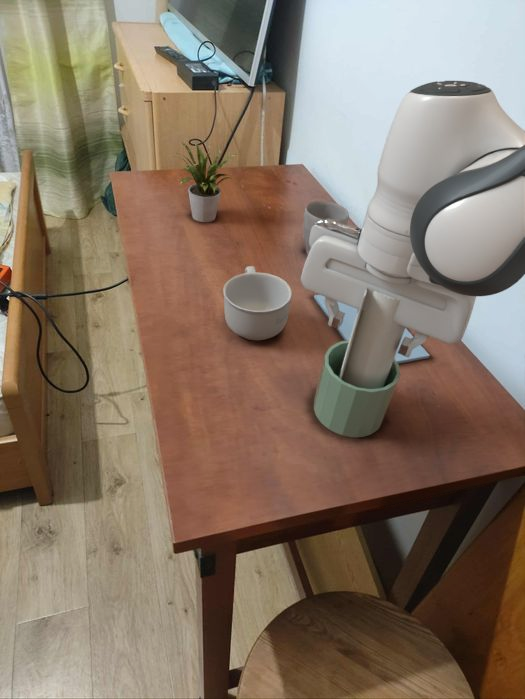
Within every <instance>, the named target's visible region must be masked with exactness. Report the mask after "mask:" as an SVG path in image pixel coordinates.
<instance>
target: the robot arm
mask: <svg viewBox="0 0 525 699" xmlns="http://www.w3.org/2000/svg"><path fill="white" fill-rule="evenodd" d="M376 173H377V185H376V188H375V192H374V194H373V196H372V197H371V199H370V201H369V203H368V205H367V207H366V208H367V209H366V213H365V215H364V219H363V223H362V226H361V228H360V227H356V226H354V225H351V224H348V223H347V224H342V223H339V222H337V221H336V220H333V219H325V220H321V221H317V222H316V223H314V224H313V226H312V228H311V232H310V237H309V245H310V247H311V249H310V251H309V254H307V256H306V259H305V261H304V265H303V268H302V271H301V275H300V282H301V284H302V286H303V288H304V289H305V290H306V291H308V292H309V291H310V292H312V293H314V294H316V295H322V296H325V301H324V303H325V306H326V308H327V311H328V314H329V315H330V318H328V321H327V326H328V327H331V328H333V329H335V330H337V329H339V328H340V326H341V325H342V323H343V318H344V316H345V313H344V312H341V311H340V310H339V306H338V303H337V302H341V303H343V304H346V305H348V306H351V307H354V308H356V309H360V306H361V302H362V299H363V297H364V293H365V290H366V288H367V293H366V297H365V300H364V303H363V307H362V311H364V312H367V311H368V310H369V307H370V303H371V299H372V296H373V292H374V291H376V292H379V293H382V294H385V295H387V296H390V297H393V298H396V299H399V300H400V301H399V304H398V307H397V310H396V312H395V315H394V318H393V322H394V323H396V324H398V325H401V326H403V327H406V329H408V330H411V331H414V332H416V333H415V335H413V338H408V337H404V339H403V341H402V343H401V346H400V349H399V351H398V353H399V354H401V355H403V356H406V357H408V358H409V356H410V354H411V352H412V350H413V349H414V348H416V347H417V346H419V345H421V346H422V344H424V343H426V341H427V340H428V338H432V339H434V340H437V341H440V342H442V343H444V344H447V345H454V344H457V343H459V342H461V341H462V340H463V337H464V335H465V333H466V330H467V327H468V325H469V322H470V319H471V316H472V313H473V310H474V307H475V303H476V300H477V297H487V296H492V295H496V294H500V293H502V292H504V291H506V290H508V289H510V288H511V287H513V286H514V285H516V284H517V283H518V282H519V281H520V280H521V279H522V278H523V277H524V276H525V130H524V129H523V128H522V127H521V126H520V125H519V124H517V123H516V122H515V120H513V118H511V117H510V115H508V113H507V112H506V111H505V110H504V109H503V107H502V105H501V104H500V103H499V101H498V99H497V97H496V94H495V92H494V91H493V90H492V88H490V87H488V86H486V85H485V84H481V83H479V82H475V81H474V82H473V81H468V80H467V81H466V80H443V81H441V80H440V81H431V82H427V83H424V84H420V85H418V86H416V87H415V88H413V89H411V90H410V91H408V92H407V93H406V94H405V95H404V96H403V98H402V99H401V101H400V103H399V105H398V108H397V109H396V112H395V114H394V117H393V119H392V122H391V124H390V127H389V130H388V133H387V136H386V139H385V143H384V145H383V149H382V151H381V155H380V159H379V163H378V167H377V172H376ZM322 224H324V225H322Z"/></svg>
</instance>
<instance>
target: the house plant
mask: <svg viewBox="0 0 525 699" xmlns="http://www.w3.org/2000/svg"><path fill="white" fill-rule="evenodd" d="M176 141H178V142H179V143H181V145H183V146H184V148H185V149H186V151H187V153H188V155H189V157H190V159H191V160H190V159H189V158H188V157H186V156H185V155H184V154H181V153H178V152H171V155H172V154H175V155H173V156H172V157H173V158H174V157H175V158H180V159H181V157H180V155H181V156H182V157H183V158H185V159H186V160H185V159H183V158H182V160H183V161H184V162H185V164H186V165H187V166H185V167H183V170H185V171H186V172H187V173H189V174H190V175H191V176H192V177H190V176H185V177H184V176H183V175H182V174H180V173H177V175H178V176H181V177H182V179H181V180H180V183H179V185H182V184H183V183H186V182H189V183H190V184H191V185H190V186H189V187H188V189H187V190H188V197H189V204H190V211H191V217H192V219H193V220H194V221H197V222H200V223H210V222H213V221H215V219H216V216H217V213H218V207H219V203H220V198H221V194H222V190H221V189H220V187H218V185H219V184H220V183H222V182H223V181H225V180H228V179H231V180H233V178H232V177H231V176H230V175H229V174H226V173H218V171H219V170H220V169H221V168H222V167H223V166H224V165H225V164H226V163H227V162H228V161H230V160H231V159H232V158H234V157H235V156H238V155H239V154H238V153H235V154H232V155H229V156H228V157H227V158H226V159H224V160H223V161H222V162H221V163H218V161H219V160H220V159H219V158H220V155H221V152H222V148H220V149H219V150H218V152H217V154H216V156H215V158H214V161H213V163H211V164H209V165H208V169H207V164H208V158H209V156H210V155H211V154H212V152H210V153H209V154H208V152H209V149H210V147H211V145H212V144H210V145H209V147H208V150H207V152H206V154H207V155H206V156H205V155H204V153H203V151H202V149H201V148H200V146H199V144H198V143H197V142H196V141H195V142H194V146H195V147H196V154H197V156H196V157H197V161H198V163H197V162H196V160H195V158H194V155H193V153H192V151H191V149H190V148H189V146H188V145H187V144H185V143H184V142H183V141H182V140H178V139H176ZM177 155H179V156H177ZM187 161H188V162H189V163H190V165H189V163H188V162H187ZM221 177H223V178H222V179H220V178H221ZM218 179H220V180H219V181H218V182H217V180H218ZM190 180H194V182H195V184H193V183H191V181H190ZM216 182H217V183H216Z"/></svg>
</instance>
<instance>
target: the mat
mask: <svg viewBox="0 0 525 699" xmlns="http://www.w3.org/2000/svg"><path fill="white" fill-rule="evenodd" d="M313 299H314V300H315V301H316V303H317V304H318V306H319V307H320V309H321V310H322V311H323V313H324V315H326V316H327V318H328V319H329V318H330V315H329V314H328V311H327V308H326V306H325V303H324V301H325V296H322V295H320V294H314V296H313ZM337 303H338V306H339V310H340V311H341V312H344V313H345V316H344V318H343V323H342V325H341V326H340V328H339V329H336V330H337V331H338V333H339V335H340V336H341V338H343V341H348V340H349V339H350V336H351V332H352V329H353V325H354V322H355V318H356V315H357V311H358V309H356V308H354V307H351V306H348V305H346V304H343V303H341V302H337ZM404 337H408V338H413V337H414V335H413V334H412V333H411V332H410V331H409V329H408V328H405V330H404V333H403V336H402V339H401V341H400V344H399V347H398V349H397V352H396V355H395V358H394V359H395V360H396V362H397V363H398V364H399V365H400V364H404V363H409V362H416V361H420V360H425V359H430V357H431V354H429V352H428V351H427V350H426V349H425V348H424V347H423V345H422V344H421V345H419V346H417V347H416V348H414V349H413V350H412V352H411V354H410V356H409V358H408V357H406V356H403V355H401V354H399V353H398V351H399V349H400V346H401V343H402V341H403V339H404Z"/></svg>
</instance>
